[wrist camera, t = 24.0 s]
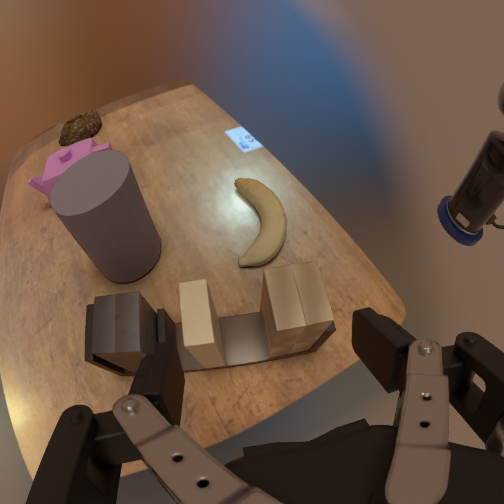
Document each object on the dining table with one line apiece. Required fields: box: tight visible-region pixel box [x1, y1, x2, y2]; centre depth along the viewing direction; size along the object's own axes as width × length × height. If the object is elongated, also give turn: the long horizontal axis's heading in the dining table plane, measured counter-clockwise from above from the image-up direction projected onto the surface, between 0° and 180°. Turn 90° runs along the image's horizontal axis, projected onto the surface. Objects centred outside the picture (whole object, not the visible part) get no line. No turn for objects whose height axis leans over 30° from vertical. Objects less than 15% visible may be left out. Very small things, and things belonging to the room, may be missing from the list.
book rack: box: [85, 261, 336, 376], centre depth 27 cm, size 24×6×12 cm, turn 100°
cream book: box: [179, 279, 226, 369], centre depth 27 cm, size 2×6×11 cm, turn 10°
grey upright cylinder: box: [50, 150, 161, 283], centre depth 33 cm, size 10×10×15 cm
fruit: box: [234, 178, 287, 267], centre depth 41 cm, size 7×15×3 cm, turn 4°
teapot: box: [28, 138, 113, 201], centre depth 42 cm, size 18×10×10 cm, turn 111°
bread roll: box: [59, 111, 101, 146], centre depth 57 cm, size 13×12×5 cm
